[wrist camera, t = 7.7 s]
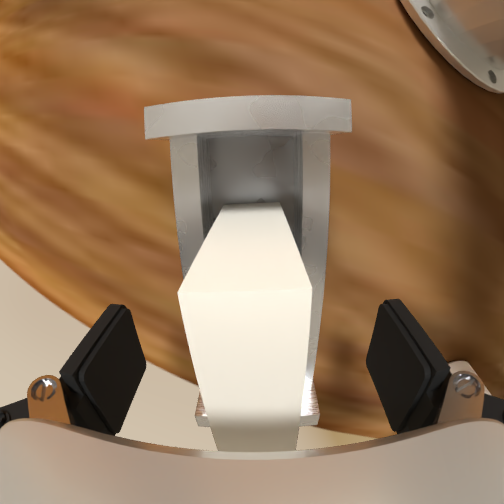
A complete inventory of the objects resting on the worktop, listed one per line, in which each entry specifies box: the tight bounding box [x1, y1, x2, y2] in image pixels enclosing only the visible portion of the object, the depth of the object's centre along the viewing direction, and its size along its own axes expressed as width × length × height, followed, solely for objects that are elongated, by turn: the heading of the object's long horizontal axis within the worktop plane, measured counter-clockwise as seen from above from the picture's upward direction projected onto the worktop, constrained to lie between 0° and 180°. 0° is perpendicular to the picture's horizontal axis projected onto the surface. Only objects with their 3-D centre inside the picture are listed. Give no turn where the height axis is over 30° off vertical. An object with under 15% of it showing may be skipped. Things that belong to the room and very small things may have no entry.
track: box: [144, 95, 352, 427], centre depth 12 cm, size 14×6×6 cm, turn 2°
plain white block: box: [178, 202, 312, 452], centre depth 10 cm, size 8×3×8 cm, turn 3°
